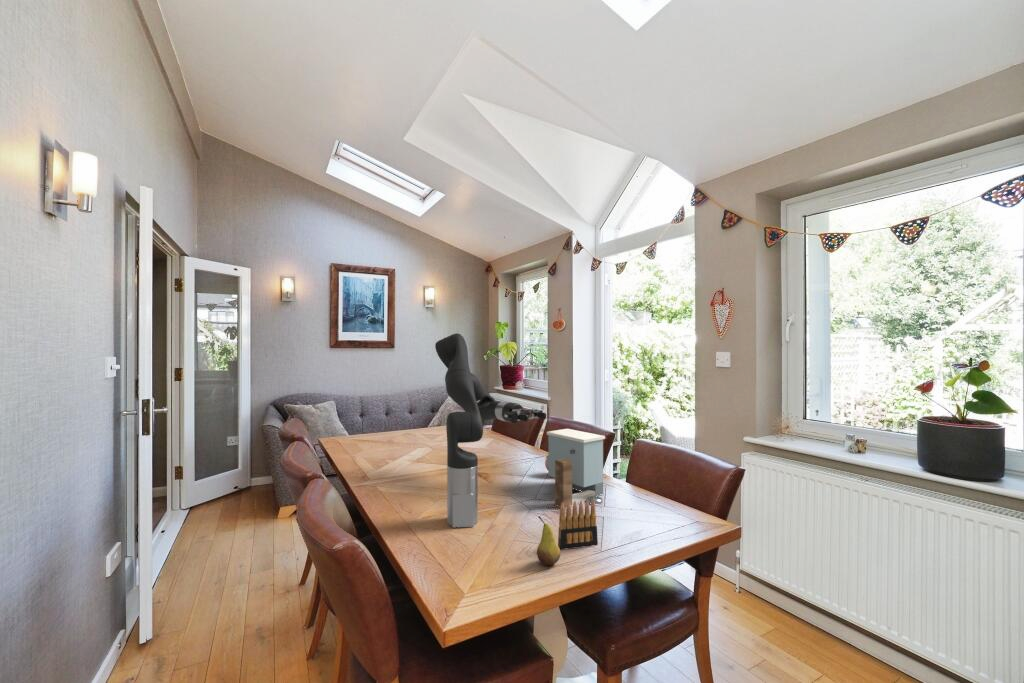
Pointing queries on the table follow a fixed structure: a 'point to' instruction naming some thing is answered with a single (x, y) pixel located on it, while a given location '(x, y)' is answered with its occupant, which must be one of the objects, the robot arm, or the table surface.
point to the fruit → (548, 547)
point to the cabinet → (579, 457)
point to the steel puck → (595, 499)
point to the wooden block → (567, 485)
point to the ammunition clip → (577, 526)
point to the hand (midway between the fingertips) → (536, 417)
